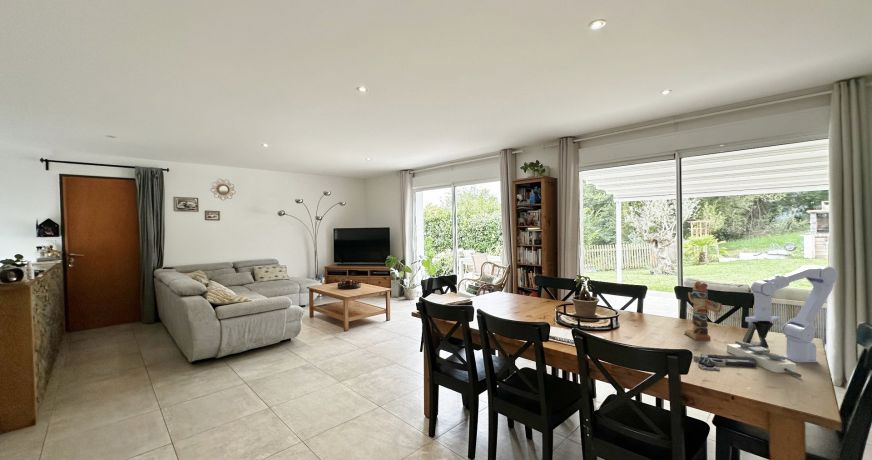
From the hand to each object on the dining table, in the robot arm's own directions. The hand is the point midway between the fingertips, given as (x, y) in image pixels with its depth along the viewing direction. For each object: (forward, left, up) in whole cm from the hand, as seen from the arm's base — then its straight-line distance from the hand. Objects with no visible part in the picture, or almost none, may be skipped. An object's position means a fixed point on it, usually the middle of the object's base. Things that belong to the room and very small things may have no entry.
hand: (762, 337), depth 163 cm
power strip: (+3, +5, -10) cm, 12 cm away
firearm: (+22, +5, -11) cm, 25 cm away
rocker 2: (+3, +2, -5) cm, 7 cm away
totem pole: (+6, -31, -10) cm, 33 cm away
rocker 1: (+3, -5, -5) cm, 8 cm away
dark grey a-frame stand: (-15, -19, -10) cm, 26 cm away
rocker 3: (+3, +9, -5) cm, 11 cm away
